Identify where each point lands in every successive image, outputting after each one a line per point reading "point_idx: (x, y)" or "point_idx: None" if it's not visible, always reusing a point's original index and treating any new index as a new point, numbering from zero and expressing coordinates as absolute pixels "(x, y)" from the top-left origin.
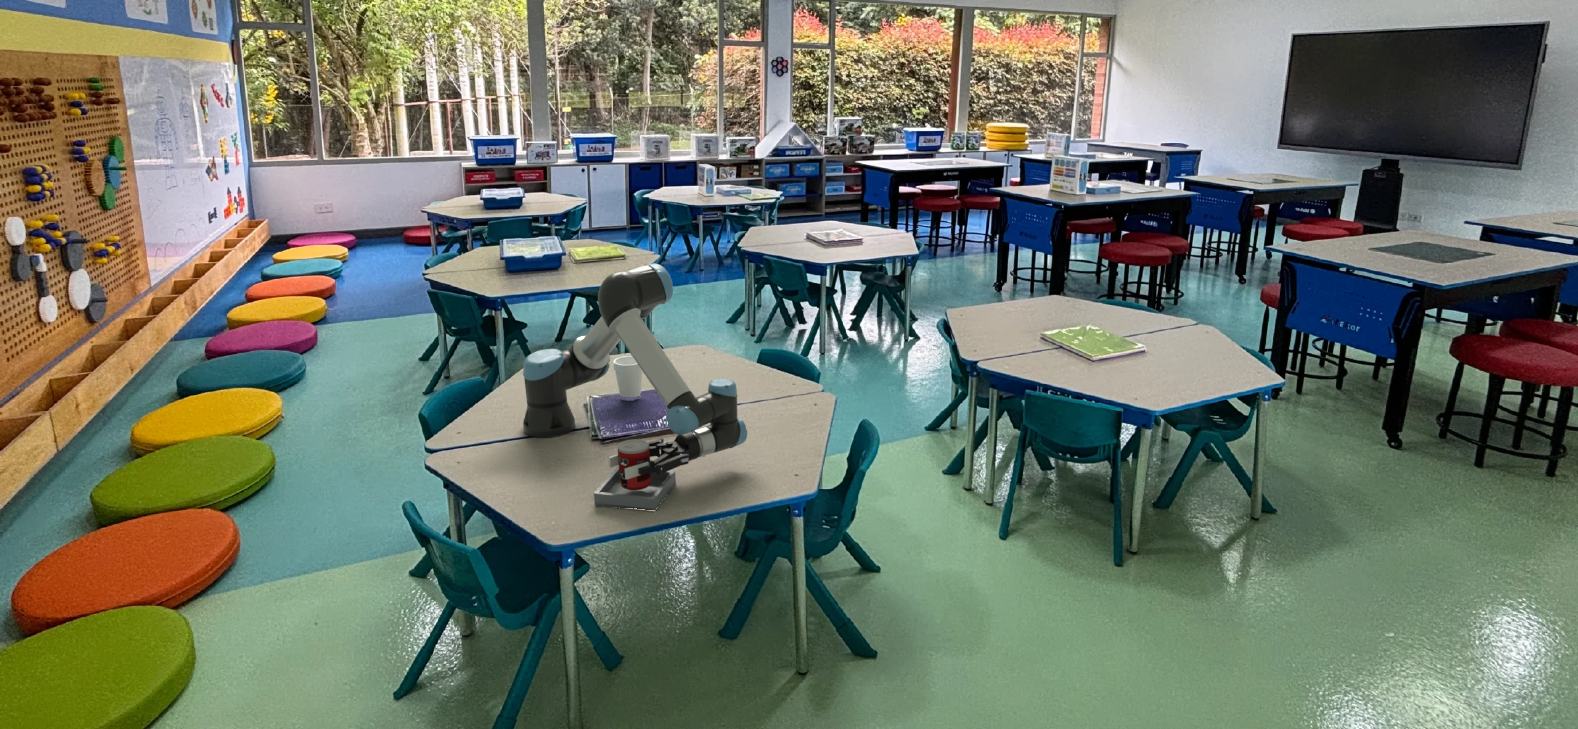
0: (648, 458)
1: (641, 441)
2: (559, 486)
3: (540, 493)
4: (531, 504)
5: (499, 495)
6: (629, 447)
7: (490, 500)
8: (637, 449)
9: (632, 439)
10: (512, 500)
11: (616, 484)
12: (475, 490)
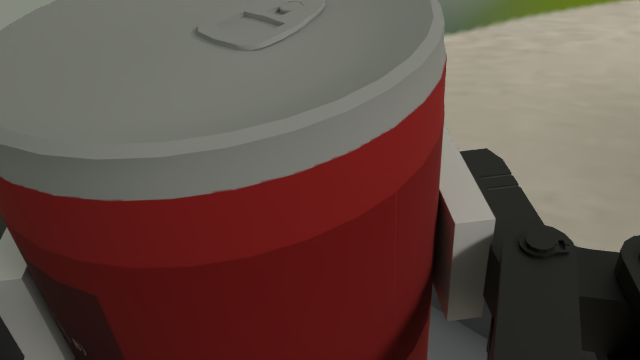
0: (40, 286)
1: (282, 112)
2: (597, 150)
3: (540, 99)
4: (449, 75)
5: (565, 31)
6: (218, 19)
7: (533, 19)
8: (80, 57)
9: (421, 35)
10: (509, 48)
11: (484, 353)
12: (626, 3)
